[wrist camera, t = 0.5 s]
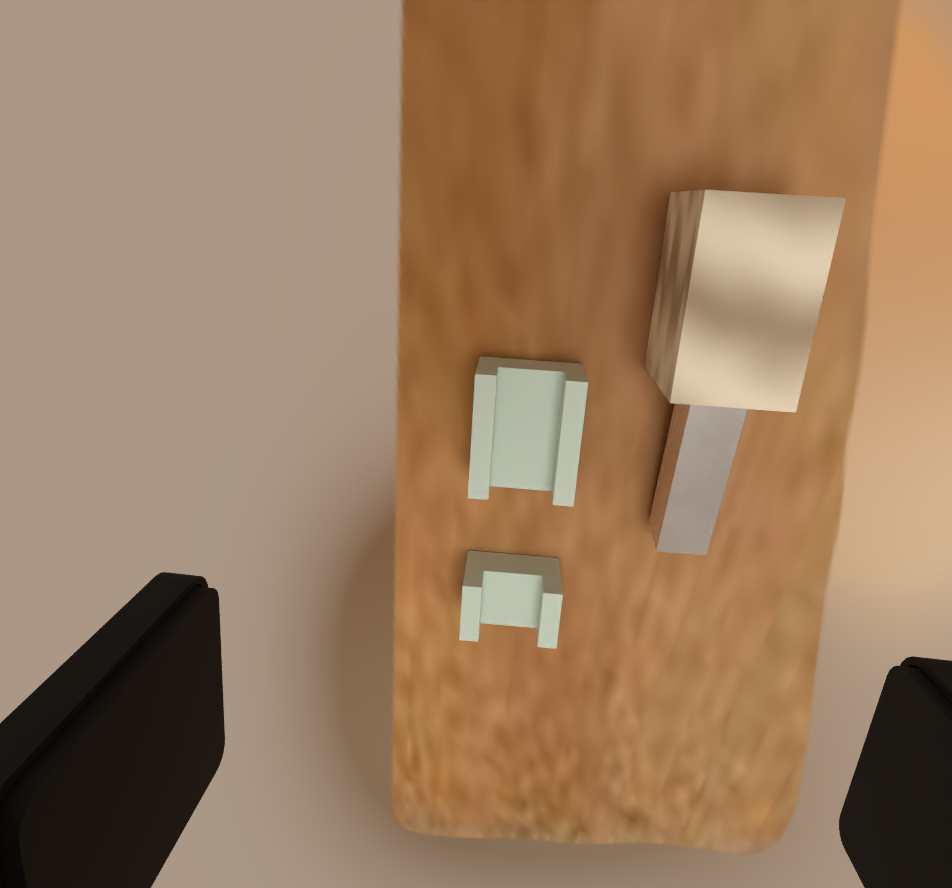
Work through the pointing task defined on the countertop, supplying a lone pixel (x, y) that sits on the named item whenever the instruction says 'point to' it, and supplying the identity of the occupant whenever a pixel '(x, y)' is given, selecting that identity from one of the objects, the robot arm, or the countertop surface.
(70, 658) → the robot arm
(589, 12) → the countertop surface
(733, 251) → the block
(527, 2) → the countertop surface
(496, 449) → the cradle
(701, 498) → the axle
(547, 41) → the countertop surface
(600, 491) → the countertop surface
